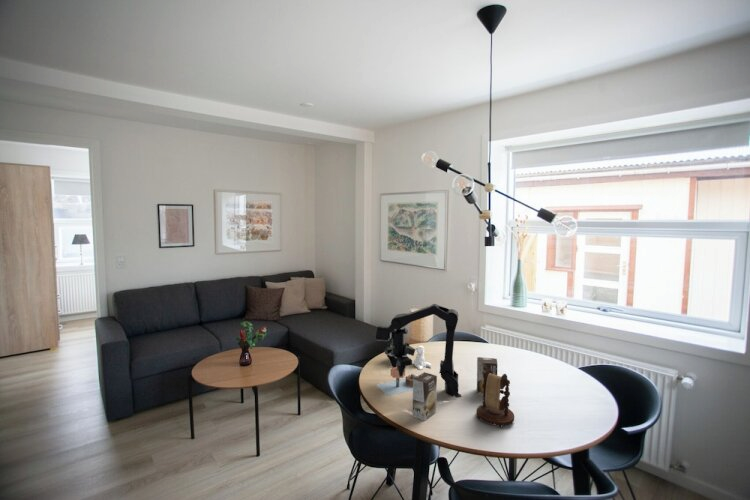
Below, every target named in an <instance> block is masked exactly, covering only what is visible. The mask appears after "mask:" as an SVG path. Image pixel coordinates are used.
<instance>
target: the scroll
mask: <svg viewBox="0 0 750 500" xmlns="http://www.w3.org/2000/svg"><path fill="white" fill-rule="evenodd" d="M483 376H484V377H483V378H484V381H483V382H484V383H483V385H482V387H483V389H484V391H483V393H484V394H483V396H482V404H480V405H479V406H477V407H476V416H477V419H478V420H480V421H482V422H484V423H487V424H489V425H493V426H498V427H499V429H502V428H503V426H508V425H510V424H513V422H514V421H515V414H514V412H513V411H512V410H511V409H510V403H509V401H510V400H509V397H510V395H511V392H510V384H511V382H510V380H509V379H508V375H507V374H506V373H503V374H502V376H499V375H498V374H497V375H494V374H492V370H491V369H488V370H487V371H486V372H485V373H483ZM504 389H505V390H504ZM501 394H503V396H502V397H501ZM500 398H501V399H500Z"/></svg>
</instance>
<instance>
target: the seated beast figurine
mask: <svg viewBox="0 0 750 500" xmlns="http://www.w3.org/2000/svg"><path fill="white" fill-rule="evenodd" d="M414 349H415V351H416V355H415V358H414V360H413V364H414V366H415V367H416V368H417V369H418V371H422V370H423V368H427V369H431V368H432V367H433V366H432V363H430V362H427V361H426V360H425V359H426V358H425V355H424V353H425V352H426V351H425V347H424V346H423V345H419V346H417V347H414Z"/></svg>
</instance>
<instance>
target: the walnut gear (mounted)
mask: <svg viewBox="0 0 750 500" xmlns="http://www.w3.org/2000/svg"><path fill="white" fill-rule="evenodd" d="M417 376H418V375H416V374H413V373H411V374H409V375H407V376H406V375H405V379H406V385H409V386H410V387H411V386H413V378H415V377H417Z"/></svg>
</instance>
